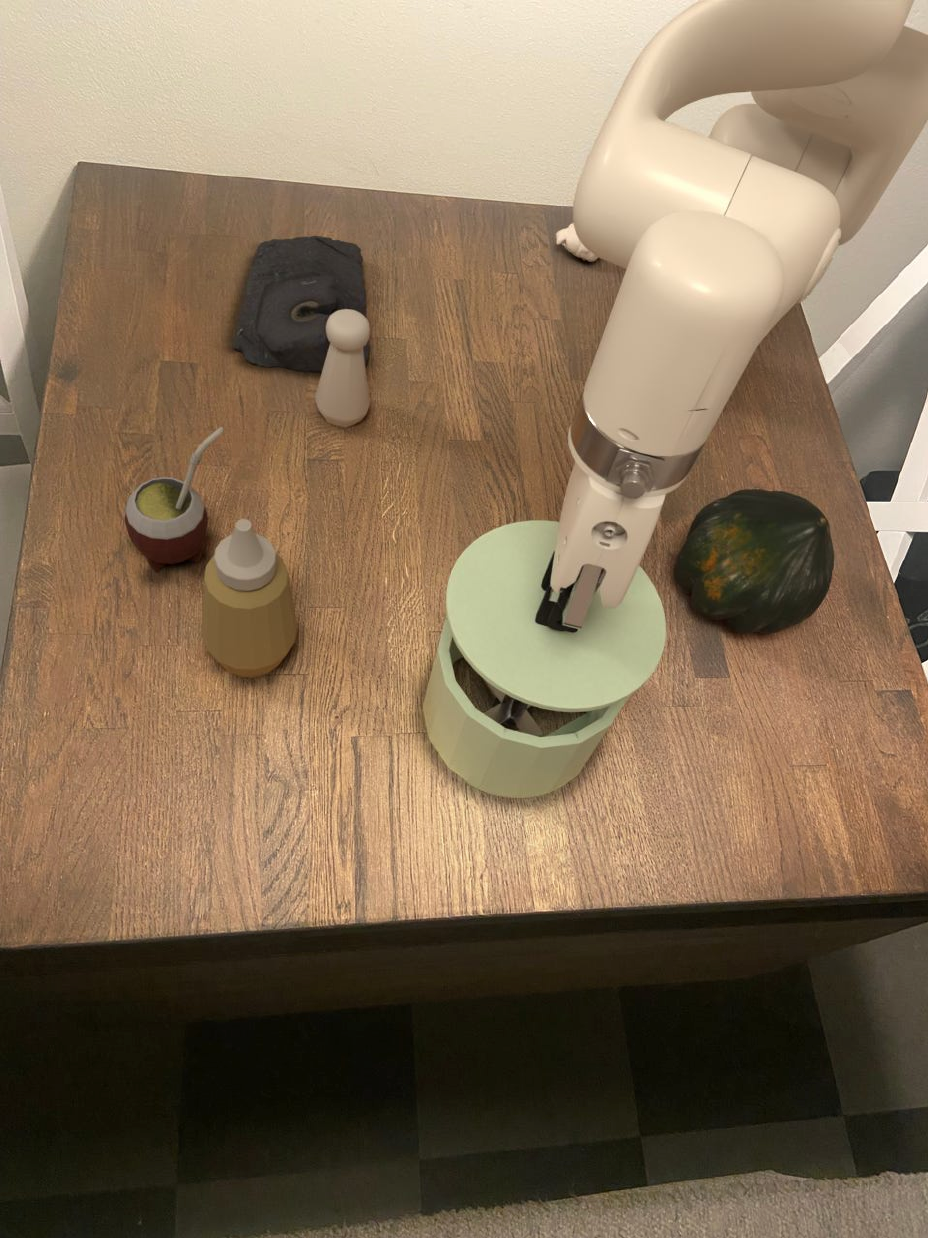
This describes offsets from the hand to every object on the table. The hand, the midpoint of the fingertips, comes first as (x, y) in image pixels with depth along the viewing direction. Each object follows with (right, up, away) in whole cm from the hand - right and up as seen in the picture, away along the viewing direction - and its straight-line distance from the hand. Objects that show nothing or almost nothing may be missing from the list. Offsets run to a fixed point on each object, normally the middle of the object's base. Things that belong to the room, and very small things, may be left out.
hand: (558, 606), depth 68 cm
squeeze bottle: (-26, -4, +14) cm, 30 cm away
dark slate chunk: (-26, +36, +41) cm, 60 cm away
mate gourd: (-34, +5, +19) cm, 39 cm away
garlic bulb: (+8, +48, +55) cm, 73 cm away
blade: (-3, -9, +14) cm, 17 cm away
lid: (0, 0, +1) cm, 1 cm away
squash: (+21, +2, +27) cm, 34 cm away
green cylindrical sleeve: (-3, -10, +15) cm, 18 cm away
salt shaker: (-20, +21, +32) cm, 43 cm away
